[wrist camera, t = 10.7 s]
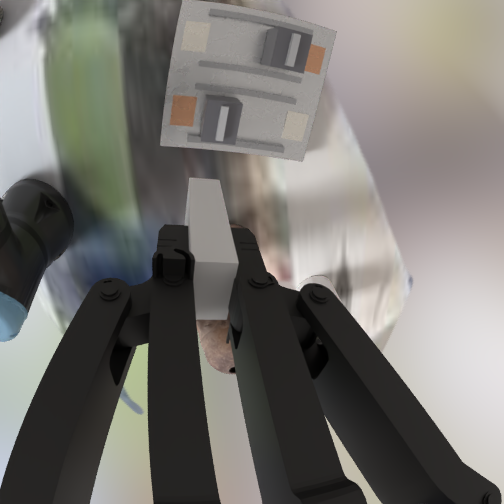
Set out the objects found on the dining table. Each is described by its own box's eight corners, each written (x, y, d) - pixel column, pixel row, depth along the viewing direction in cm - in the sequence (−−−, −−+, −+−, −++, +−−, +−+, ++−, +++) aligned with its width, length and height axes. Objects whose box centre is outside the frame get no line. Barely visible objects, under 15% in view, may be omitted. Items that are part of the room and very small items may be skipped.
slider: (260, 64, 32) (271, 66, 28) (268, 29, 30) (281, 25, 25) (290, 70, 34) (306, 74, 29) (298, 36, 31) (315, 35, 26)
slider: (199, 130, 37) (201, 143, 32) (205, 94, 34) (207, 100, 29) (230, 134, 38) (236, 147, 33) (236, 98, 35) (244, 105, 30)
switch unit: (161, 139, 39) (159, 148, 36) (183, 3, 28) (182, -3, 25) (296, 154, 44) (305, 164, 41) (327, 32, 33) (339, 31, 30)
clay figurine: (206, 194, 46) (224, 322, 26) (260, 217, 50) (309, 340, 31) (173, 256, 52) (175, 387, 32) (224, 273, 56) (248, 397, 36)
